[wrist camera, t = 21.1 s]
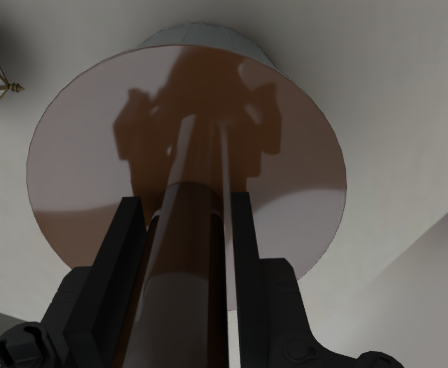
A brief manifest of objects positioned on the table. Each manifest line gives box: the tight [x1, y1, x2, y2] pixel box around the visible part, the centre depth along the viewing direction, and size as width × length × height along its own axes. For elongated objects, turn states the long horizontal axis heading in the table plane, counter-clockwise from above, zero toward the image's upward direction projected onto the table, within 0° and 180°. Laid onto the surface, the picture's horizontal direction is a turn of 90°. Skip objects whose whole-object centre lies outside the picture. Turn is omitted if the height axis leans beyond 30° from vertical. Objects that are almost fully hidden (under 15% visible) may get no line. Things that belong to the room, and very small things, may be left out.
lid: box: [26, 42, 347, 368], centre depth 12 cm, size 14×14×10 cm
